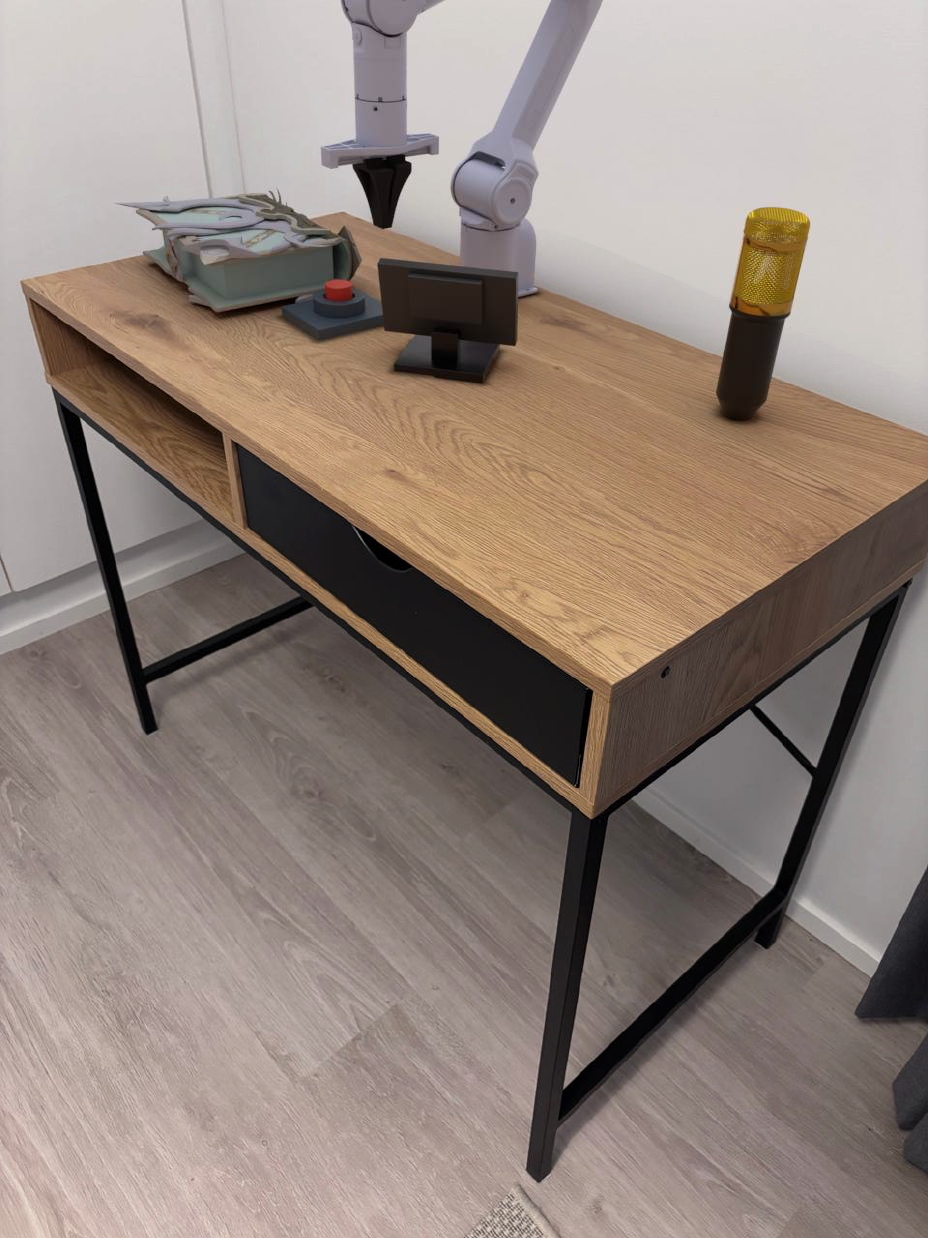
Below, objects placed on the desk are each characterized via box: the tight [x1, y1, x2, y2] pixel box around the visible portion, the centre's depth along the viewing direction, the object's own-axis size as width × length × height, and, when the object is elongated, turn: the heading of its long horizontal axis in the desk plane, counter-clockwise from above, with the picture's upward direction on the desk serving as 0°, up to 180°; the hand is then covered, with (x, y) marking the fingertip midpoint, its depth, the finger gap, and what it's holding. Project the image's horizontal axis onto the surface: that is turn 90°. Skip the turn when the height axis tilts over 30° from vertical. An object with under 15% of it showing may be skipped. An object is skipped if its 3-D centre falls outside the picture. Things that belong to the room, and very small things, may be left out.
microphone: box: [715, 206, 811, 421], centre depth 100 cm, size 6×13×20 cm, turn 34°
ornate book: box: [114, 188, 363, 313], centre depth 130 cm, size 23×10×30 cm
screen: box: [376, 257, 519, 347], centre depth 108 cm, size 2×15×8 cm, turn 77°
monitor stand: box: [393, 327, 501, 384], centre depth 111 cm, size 9×10×4 cm
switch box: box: [281, 287, 384, 342], centre depth 120 cm, size 11×9×3 cm
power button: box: [325, 279, 353, 301], centre depth 119 cm, size 3×3×2 cm
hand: (382, 226), depth 117 cm, fingers closed
